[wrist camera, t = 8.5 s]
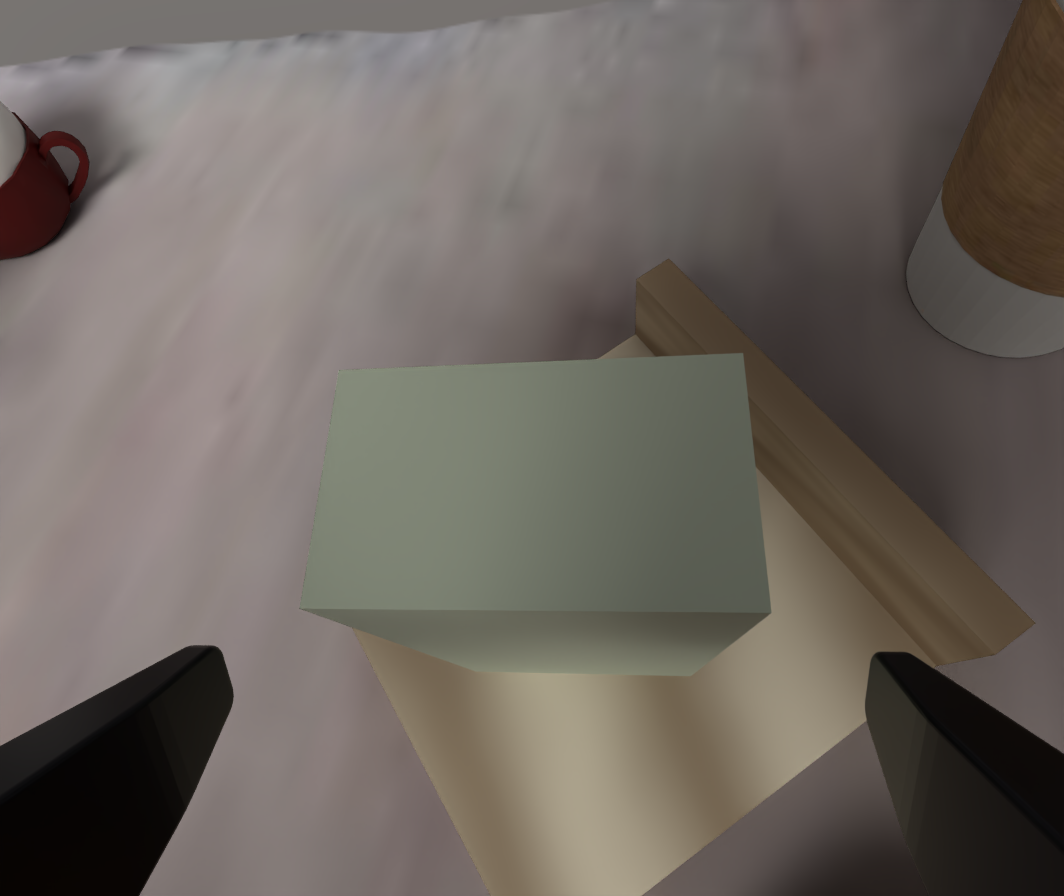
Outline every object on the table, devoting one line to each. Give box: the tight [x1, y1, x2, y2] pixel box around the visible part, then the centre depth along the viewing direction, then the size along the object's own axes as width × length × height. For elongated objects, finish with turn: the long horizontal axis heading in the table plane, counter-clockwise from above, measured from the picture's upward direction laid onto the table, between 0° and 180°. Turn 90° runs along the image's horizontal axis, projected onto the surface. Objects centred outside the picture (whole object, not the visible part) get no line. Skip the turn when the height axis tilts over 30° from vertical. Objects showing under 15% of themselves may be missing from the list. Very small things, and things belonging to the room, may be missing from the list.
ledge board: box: [352, 259, 1035, 896], centre depth 18 cm, size 14×13×4 cm
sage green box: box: [300, 353, 772, 676], centre depth 14 cm, size 4×6×11 cm, turn 88°
